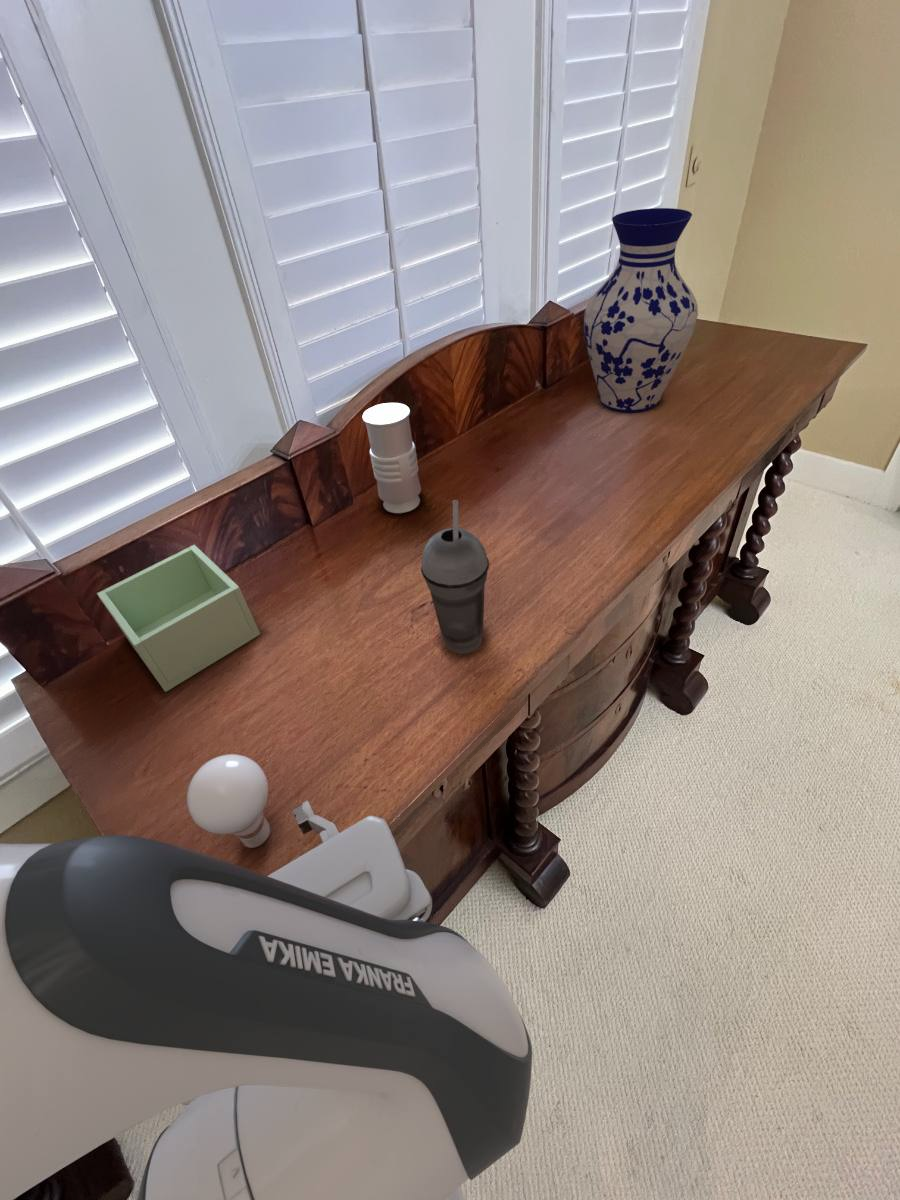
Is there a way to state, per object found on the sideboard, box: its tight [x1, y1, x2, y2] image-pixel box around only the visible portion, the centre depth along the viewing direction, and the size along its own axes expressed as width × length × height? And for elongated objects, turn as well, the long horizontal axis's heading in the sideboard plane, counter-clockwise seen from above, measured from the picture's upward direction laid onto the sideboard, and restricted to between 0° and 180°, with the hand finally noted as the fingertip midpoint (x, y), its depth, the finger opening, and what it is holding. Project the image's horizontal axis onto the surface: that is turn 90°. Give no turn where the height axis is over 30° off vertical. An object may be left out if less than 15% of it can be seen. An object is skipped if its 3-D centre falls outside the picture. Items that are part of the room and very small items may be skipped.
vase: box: [583, 207, 699, 414], centre depth 102 cm, size 19×19×30 cm
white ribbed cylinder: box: [362, 402, 422, 514], centre depth 88 cm, size 7×7×15 cm
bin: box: [96, 544, 261, 693], centre depth 72 cm, size 13×13×8 cm
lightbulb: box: [186, 753, 272, 849], centre depth 50 cm, size 6×6×11 cm
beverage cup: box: [420, 500, 490, 655], centre depth 63 cm, size 7×7×20 cm
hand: (247, 838), depth 47 cm, fingers open, 8 cm apart
